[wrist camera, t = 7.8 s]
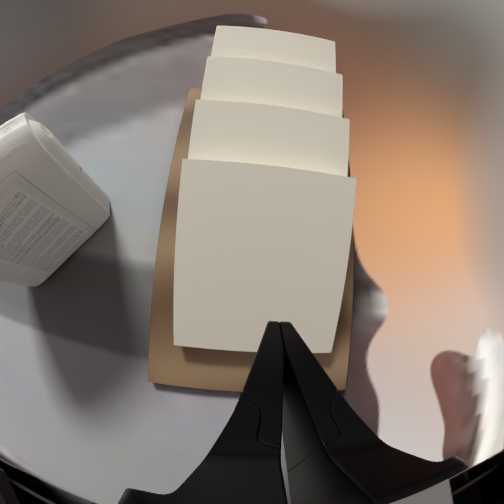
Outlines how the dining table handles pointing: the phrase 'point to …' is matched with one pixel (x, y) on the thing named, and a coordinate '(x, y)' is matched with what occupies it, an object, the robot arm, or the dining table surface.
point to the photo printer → (42, 203)
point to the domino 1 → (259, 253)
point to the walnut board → (212, 360)
